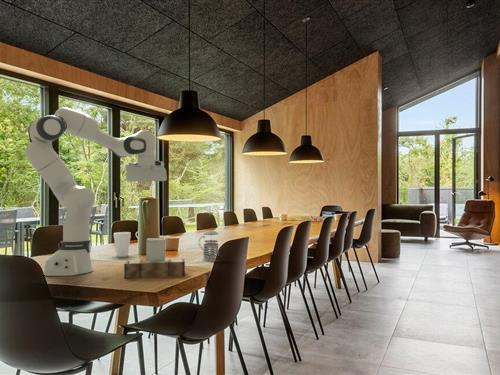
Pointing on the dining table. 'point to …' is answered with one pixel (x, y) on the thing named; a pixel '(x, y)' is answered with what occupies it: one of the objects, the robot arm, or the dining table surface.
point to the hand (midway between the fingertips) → (146, 190)
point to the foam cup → (122, 243)
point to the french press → (210, 246)
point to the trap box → (154, 269)
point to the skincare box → (155, 249)
